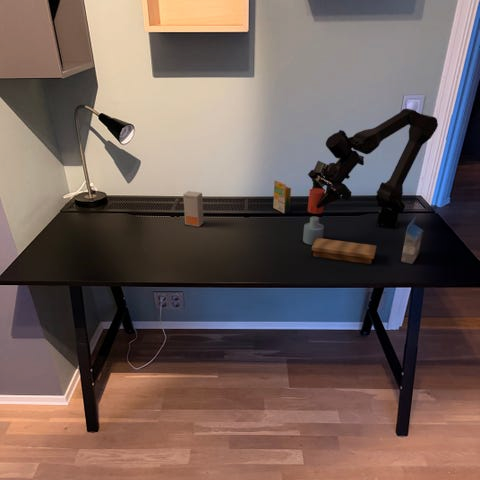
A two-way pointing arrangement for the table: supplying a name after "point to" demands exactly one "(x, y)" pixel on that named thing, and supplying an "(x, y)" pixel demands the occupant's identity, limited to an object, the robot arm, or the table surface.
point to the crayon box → (281, 197)
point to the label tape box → (412, 243)
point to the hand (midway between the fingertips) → (312, 204)
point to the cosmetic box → (193, 208)
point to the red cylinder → (315, 200)
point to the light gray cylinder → (312, 231)
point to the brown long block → (344, 250)
